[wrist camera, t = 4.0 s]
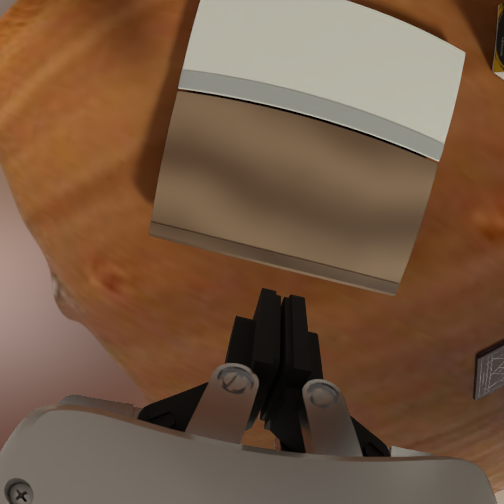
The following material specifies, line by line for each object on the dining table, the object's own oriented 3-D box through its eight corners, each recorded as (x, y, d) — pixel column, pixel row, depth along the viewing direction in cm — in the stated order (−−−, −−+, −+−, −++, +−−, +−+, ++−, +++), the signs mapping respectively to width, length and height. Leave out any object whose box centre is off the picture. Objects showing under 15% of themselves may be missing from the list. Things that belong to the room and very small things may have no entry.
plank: (184, 94, 20) (177, 90, 18) (428, 162, 20) (438, 163, 18) (156, 230, 23) (148, 235, 21) (388, 288, 23) (394, 296, 21)
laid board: (213, -18, 16) (207, -26, 14) (455, 55, 16) (465, 52, 15) (185, 89, 20) (177, 88, 18) (429, 157, 20) (439, 161, 18)
